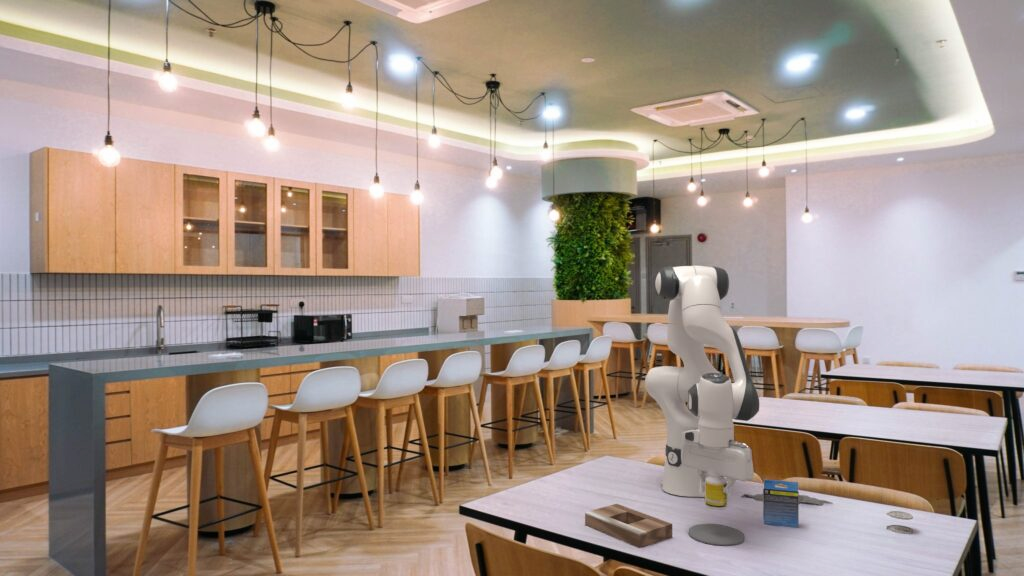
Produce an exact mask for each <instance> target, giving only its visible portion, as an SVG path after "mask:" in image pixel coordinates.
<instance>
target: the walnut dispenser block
mask: <svg viewBox="0 0 1024 576" xmlns="http://www.w3.org/2000/svg"><path fill="white" fill-rule="evenodd" d="M584 515H585V516H584V525H585V526H587V527H589V528H593V529H594V530H597V531H599V532H601V533H604V534H605V535H609V536H610V535H611V537H613V538H616V539H618V540H620V541H622V540H623V541H622V542H625V543H627V544H629V543H630V545H632V546H634V547H636V548H638V549H641V548H644V547H646V546H650V545H652V543H653V544H656V543H659V542H661V541H662V542H663V541H664V540H667V539H670V538H673V523H671V522H668V521H666V520H663V519H660V518H658V517H655V516H651V515H649V514H646V513H643V512H641V511H639V510H635V509H632V508H630V507H628V506H625V505H621V504H619V503H614V504H610V505H607V506H604V507H599V508H596V509H593V510H592V509H591V510H589V511H585V512H584ZM658 541H659V542H658ZM655 542H656V543H655ZM649 544H650V545H649Z"/></svg>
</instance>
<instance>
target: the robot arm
mask: <svg viewBox="0 0 1024 576" xmlns="http://www.w3.org/2000/svg"><path fill="white" fill-rule="evenodd" d="M729 278H730V277H729V274H728V272H727V271H726V270H725V269H724V268H721V267H719V266H712V267H711V266H707V265H706V266H705V265H704V266H703V265H683V266H681V265H679V266H671V265H669V266H664V267H662V268H660V270H658V272H657V275H656V278H655V290H656V292H657V295H658V296H659V298H660V299H662V300H665V301H669V305H668V310H667V311H668V313H667V332H666V336H667V341H666V342H667V347H668V349H669V350H670V352H672V353H673V354H675V356H678V357H680V359H681V360H682V362H683V366H670V365H662V366H656V367H652V368H651V369H649V370H648V372H647V374H646V375H645V379H644V386H645V390H646V392H647V394H648V395H649V396H650V397H651V398H652V399H653V400H654V401H655V402H656V403H657V404H658V406H659V407H660V409H661V411H662V413H663V415H664V416H663V417H664V419H665V420H664V421H665V428H666V444H665V451H664V452H665V456H666V459H664V467H663V478H662V480H661V482H660V484H661V485H662V486H661V490H662V491H663V492H665V493H667V494H669V495H670V494H671V495H674V496H680V497H689V498H690V497H691V498H693V497H694V498H695V497H696V498H697V497H698V498H705V478H706V477H707V476H709V474H708V472H709V470H713V471H714V472H715V474H716V475H720V476H723V477H724V478H725V479H726V481H727V485H726V486H724V487H723V494H727V495H728V496H730V495H732V493H733V490H732V489H733V487H734V485H735V484H736V482H737V481H740V482H744V483H745V482H749V481H751V480H752V479H753V478H754V473H755V472H754V463H753V455H752V449H751V448H750V446H749V445H747V443H745V442H739V441H737V440H735V426H734V422H733V420H734V421H736V420H737V421H744V422H748V421H749V420H751V419H752V418H754V417H755V416H756V415H758V413H759V412H760V397H759V395H758V394H759V393H758V391H757V389H756V386H755V384H754V381H753V379H752V376H751V372H750V369H749V366H748V363H747V360H746V356H745V352H744V349H743V346H742V343H741V340H740V337H739V335H738V333H737V330H736V329H735V328H734V327H732V326H730V325H729V323H727V322H726V320H725V318H724V315H723V311H722V303H721V300H723V299H724V298H725V297H726V296H728V292H729V289H730V279H729ZM705 345H706V346H709V347H712V348H715V349H716V350H718V351H721V352H722V353H723V354H724V356H726V358H727V361H728V363H729V367H730V370H731V375H732V378H733V381H734V382H732V380H731V378H730V376H728V375H726V374H723V373H721V372H720V371H718V370H717V369H716V368H715V367H714V366H713V365H712V363H711V362H710V360H709V359H708V355H707V353H706V350H705Z"/></svg>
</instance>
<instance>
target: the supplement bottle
mask: <svg viewBox="0 0 1024 576" xmlns="http://www.w3.org/2000/svg"><path fill="white" fill-rule="evenodd" d="M708 474H709V476H707V477H706V478H705V497H704V506H705V507H706V508H707V509H710V510H716V511H723V510H726V509H727V506H728V501H727V500H728V499H727V498H728V497H727V494H723V487H724V486H726V485H727V483H728V482H727V481H726V477H724V476H720V475H716V474H715V472H714V471H713V470H709V472H708Z"/></svg>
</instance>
